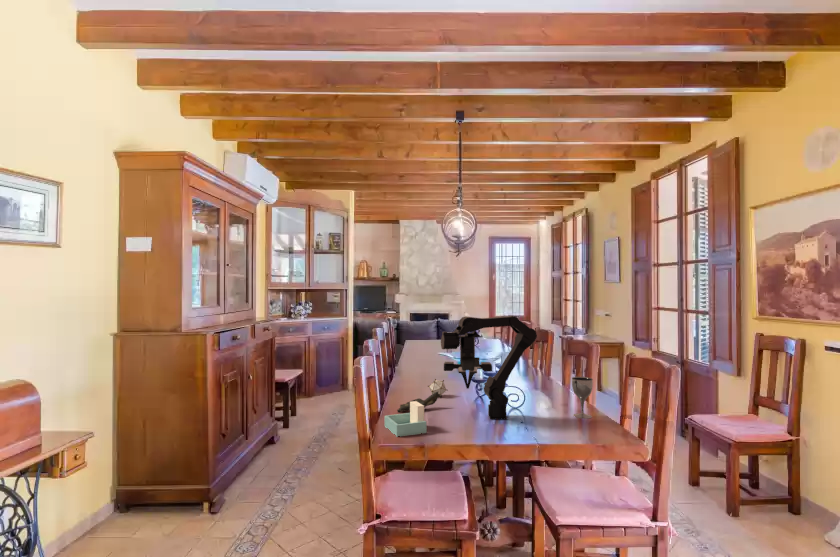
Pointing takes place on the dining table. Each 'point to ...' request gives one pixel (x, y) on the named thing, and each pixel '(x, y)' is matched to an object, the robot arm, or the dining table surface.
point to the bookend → (416, 412)
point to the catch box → (404, 425)
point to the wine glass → (582, 392)
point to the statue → (426, 402)
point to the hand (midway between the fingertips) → (467, 388)
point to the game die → (437, 387)
